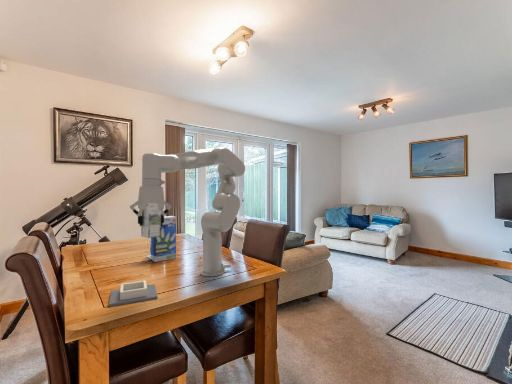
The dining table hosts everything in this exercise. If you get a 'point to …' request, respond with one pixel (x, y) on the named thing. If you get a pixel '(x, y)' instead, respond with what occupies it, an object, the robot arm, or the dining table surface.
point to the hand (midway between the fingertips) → (151, 224)
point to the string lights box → (165, 241)
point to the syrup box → (151, 221)
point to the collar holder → (132, 293)
